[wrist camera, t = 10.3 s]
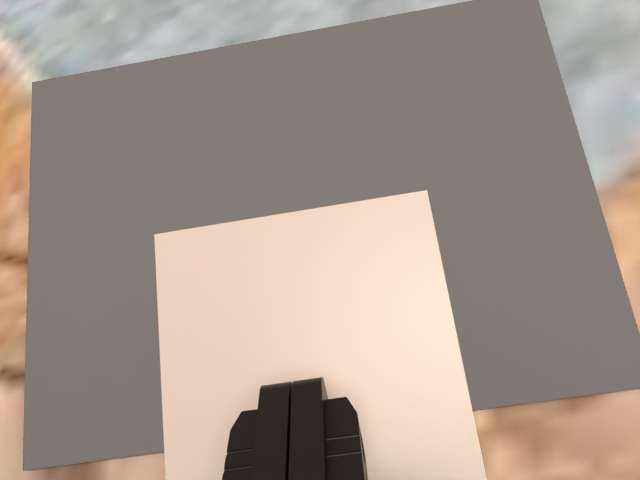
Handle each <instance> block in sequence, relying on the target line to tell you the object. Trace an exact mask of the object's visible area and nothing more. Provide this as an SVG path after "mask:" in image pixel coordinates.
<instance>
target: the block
mask: <svg viewBox="0 0 640 480" xmlns="http://www.w3.org/2000/svg"><path fill="white" fill-rule="evenodd" d="M154 239H155V261H156V283H157V304H158V326H159V347H160V369H161V391H162V412H163V434H164V456H165V477H166V480H222V477H223V473H224V464H225V458H226V455H227V446H228V440H229V434H230V430H231V428H232V426H233V425H234V423H235V421H236V420H237V418H238V416H239V415H240V413H241V411H248V410H255V409H258V401H259V392H260V387H261V386H263V385H270V384H277V383H285V382H293V381H298V380H305V379H312V378H319V377H323V379H324V383H325V387H326V391H327V396H328V399H333V398H341V397H347V398H348V400H349V401H350V403H351V404H352V406H353V407H354V409H355V410H356V412H357V414H358V419H359V425H360V430H361V435H362V440H363V445H364V451H365V457H366V465H367V474H368V480H487V479H486V474H485V469H484V464H483V459H482V454H481V450H480V445H479V440H478V435H477V430H476V425H475V420H474V416H473V411H472V406H471V401H470V396H469V391H468V386H467V382H466V377H465V372H464V367H463V362H462V357H461V352H460V348H459V343H458V338H457V333H456V328H455V323H454V318H453V314H452V309H451V304H450V299H449V294H448V289H447V284H446V280H445V275H444V270H443V265H442V260H441V255H440V250H439V246H438V241H437V236H436V231H435V226H434V221H433V216H432V212H431V207H430V202H429V197H428V192H427V190H424V191H418V192H412V193H406V194H400V195H394V196H387V197H381V198H375V199H369V200H363V201H357V202H350V203H344V204H338V205H332V206H326V207H320V208H314V209H307V210H301V211H295V212H289V213H283V214H277V215H270V216H264V217H258V218H252V219H246V220H240V221H233V222H227V223H221V224H215V225H209V226H203V227H197V228H190V229H184V230H178V231H172V232H166V233H160V234H154Z"/></svg>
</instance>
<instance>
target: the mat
mask: <svg viewBox="0 0 640 480" xmlns="http://www.w3.org/2000/svg"><path fill="white" fill-rule="evenodd" d="M424 190H427V192H428V197H429V202H430V207H431V212H432V216H433V221H434V226H435V231H436V236H437V241H438V246H439V250H440V255H441V260H442V265H443V270H444V275H445V280H446V284H447V289H448V294H449V299H450V304H451V309H452V314H453V318H454V323H455V328H456V333H457V338H458V343H459V348H460V352H461V357H462V362H463V367H464V372H465V377H466V382H467V386H468V391H469V396H470V401H471V406H472V411H474V410H482V409H489V408H497V407H504V406H512V405H519V404H527V403H534V402H542V401H549V400H557V399H564V398H572V397H579V396H586V395H594V394H601V393H609V392H616V391H624V390H631V389H639V388H640V334H639V331H638V328H637V324H636V321H635V318H634V314H633V311H632V308H631V305H630V301H629V298H628V295H627V291H626V288H625V285H624V282H623V278H622V275H621V272H620V268H619V265H618V262H617V259H616V255H615V252H614V249H613V245H612V242H611V239H610V236H609V232H608V229H607V226H606V222H605V219H604V216H603V213H602V209H601V206H600V203H599V199H598V196H597V193H596V189H595V186H594V183H593V180H592V176H591V173H590V170H589V166H588V163H587V160H586V157H585V153H584V150H583V147H582V143H581V140H580V137H579V134H578V130H577V127H576V124H575V120H574V117H573V114H572V111H571V107H570V104H569V101H568V97H567V94H566V91H565V88H564V84H563V81H562V78H561V74H560V71H559V68H558V65H557V61H556V58H555V55H554V51H553V48H552V45H551V42H550V38H549V35H548V32H547V28H546V25H545V22H544V19H543V15H542V12H541V9H540V5H539V2H538V0H473V1H468V2H463V3H457V4H452V5H446V6H441V7H436V8H430V9H425V10H419V11H414V12H409V13H403V14H398V15H392V16H387V17H382V18H376V19H371V20H366V21H360V22H355V23H349V24H344V25H339V26H333V27H328V28H322V29H317V30H312V31H306V32H301V33H295V34H290V35H285V36H279V37H274V38H269V39H263V40H258V41H252V42H247V43H242V44H236V45H231V46H225V47H220V48H215V49H209V50H204V51H199V52H193V53H188V54H182V55H177V56H172V57H166V58H161V59H155V60H150V61H145V62H139V63H134V64H128V65H123V66H118V67H112V68H107V69H102V70H96V71H91V72H85V73H80V74H75V75H69V76H64V77H58V78H53V79H48V80H42V81H37V82H32V115H31V155H30V195H29V235H28V275H27V316H26V356H25V396H24V436H23V471H26V470H33V469H41V468H48V467H56V466H63V465H71V464H78V463H85V462H93V461H100V460H108V459H115V458H123V457H130V456H138V455H145V454H153V453H160V452H164V434H163V412H162V391H161V369H160V347H159V326H158V304H157V283H156V261H155V239H154V234H160V233H166V232H172V231H178V230H184V229H190V228H197V227H203V226H209V225H215V224H221V223H227V222H233V221H240V220H246V219H252V218H258V217H264V216H270V215H277V214H283V213H289V212H295V211H301V210H307V209H314V208H320V207H326V206H332V205H338V204H344V203H350V202H357V201H363V200H369V199H375V198H381V197H387V196H394V195H400V194H406V193H412V192H418V191H424Z"/></svg>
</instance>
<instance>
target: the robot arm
mask: <svg viewBox="0 0 640 480" xmlns="http://www.w3.org/2000/svg"><path fill="white" fill-rule="evenodd" d="M222 480H368V474H367V465H366V457H365V451H364V445H363V440H362V435H361V430H360V425H359V419H358V414H357V412H356V410H355V409H354V407H353V406H352V404H351V403H350V401H349V400H348V398H347V397H341V398H333V399H328V396H327V391H326V387H325V383H324V379H323V377H319V378H312V379H305V380H298V381H293V382H285V383H277V384H270V385H263V386H261V387H260V392H259V401H258V409H255V410H248V411H241V413H240V415H239V416H238V418H237V420H236V421H235V423H234V425H233V426H232V428H231V430H230V434H229V440H228V446H227V455H226V458H225V464H224V473H223V477H222Z"/></svg>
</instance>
